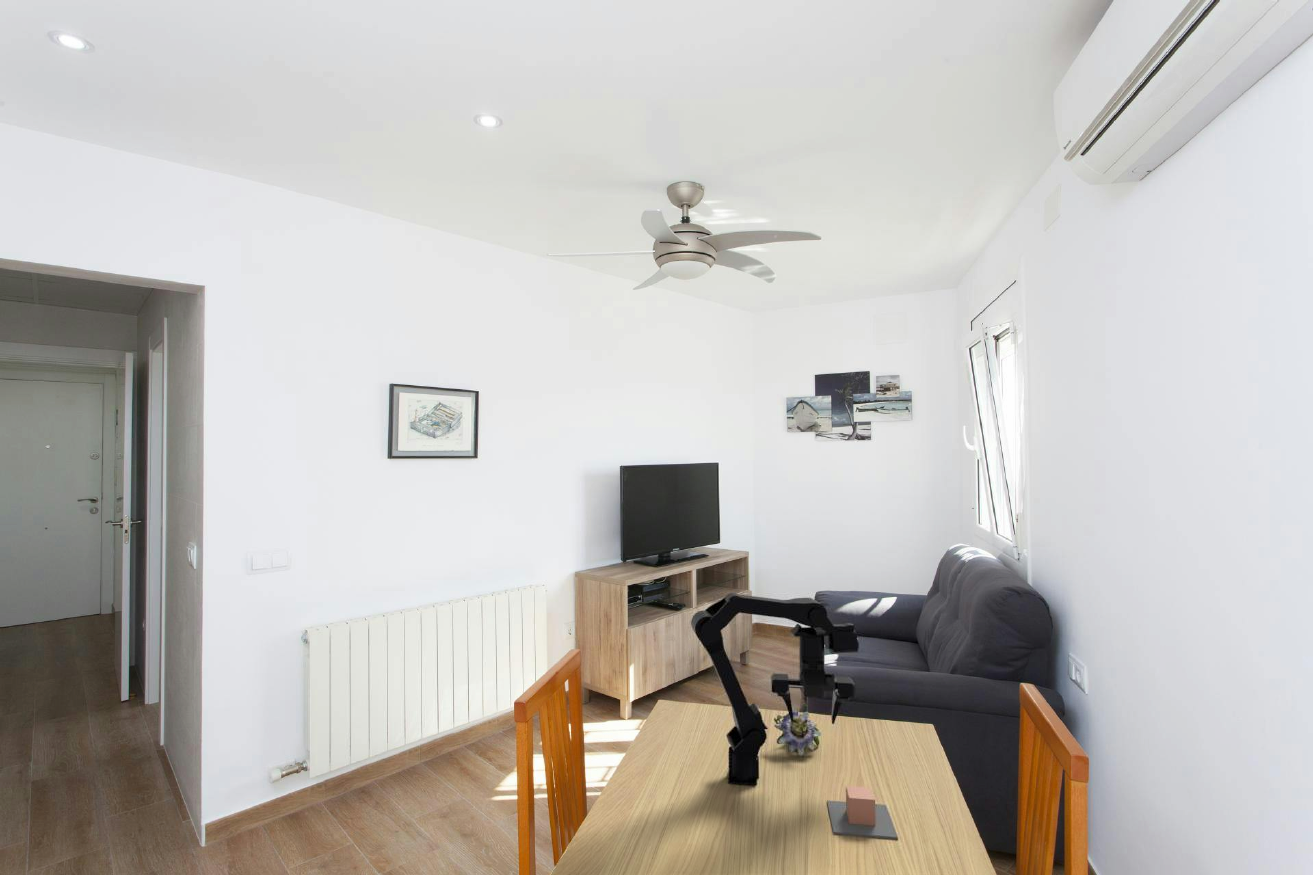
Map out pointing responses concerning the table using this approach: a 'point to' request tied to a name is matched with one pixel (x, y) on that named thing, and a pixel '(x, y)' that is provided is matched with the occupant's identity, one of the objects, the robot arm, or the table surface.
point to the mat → (843, 826)
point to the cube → (860, 805)
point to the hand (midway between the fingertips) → (812, 722)
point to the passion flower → (797, 732)
